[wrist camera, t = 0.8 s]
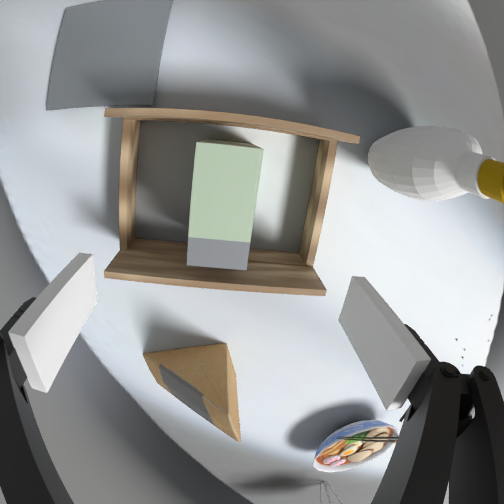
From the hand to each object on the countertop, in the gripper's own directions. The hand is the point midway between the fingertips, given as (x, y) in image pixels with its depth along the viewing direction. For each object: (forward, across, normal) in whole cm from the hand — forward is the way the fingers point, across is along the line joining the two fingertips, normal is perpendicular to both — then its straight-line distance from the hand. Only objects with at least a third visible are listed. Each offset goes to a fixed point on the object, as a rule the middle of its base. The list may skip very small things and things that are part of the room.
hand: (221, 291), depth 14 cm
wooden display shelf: (+26, 0, 0) cm, 26 cm away
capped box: (+26, 0, 0) cm, 26 cm away
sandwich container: (+26, -3, -31) cm, 40 cm away
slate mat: (+25, -18, +18) cm, 36 cm away
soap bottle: (+26, +23, +9) cm, 36 cm away
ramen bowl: (+26, +37, -56) cm, 71 cm away
